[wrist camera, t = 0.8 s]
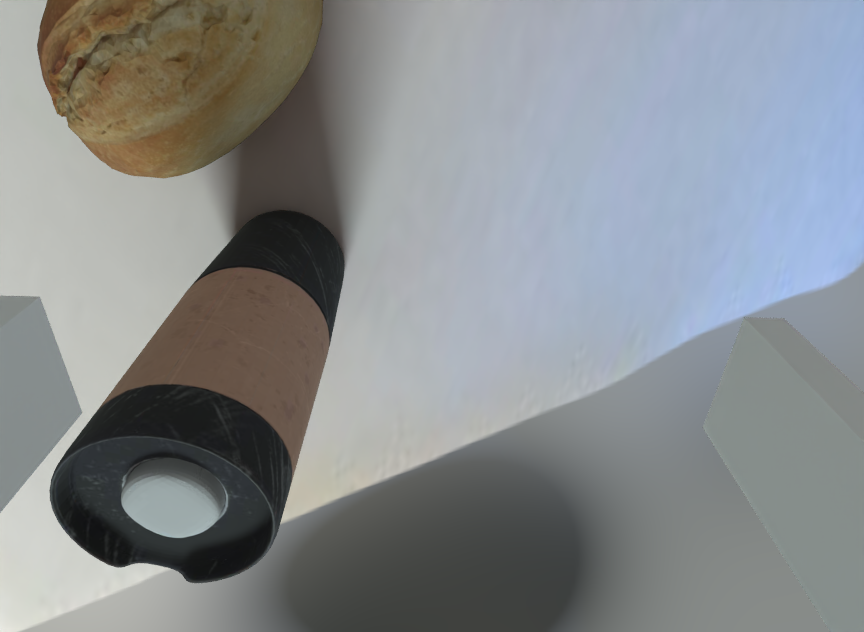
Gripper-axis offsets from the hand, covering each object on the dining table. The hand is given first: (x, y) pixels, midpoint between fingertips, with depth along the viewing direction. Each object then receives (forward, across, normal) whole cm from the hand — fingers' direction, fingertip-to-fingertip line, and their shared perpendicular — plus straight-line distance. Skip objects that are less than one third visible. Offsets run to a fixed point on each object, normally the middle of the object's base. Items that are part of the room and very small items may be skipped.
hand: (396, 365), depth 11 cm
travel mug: (+24, -8, -9) cm, 27 cm away
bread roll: (+24, -11, +3) cm, 27 cm away
